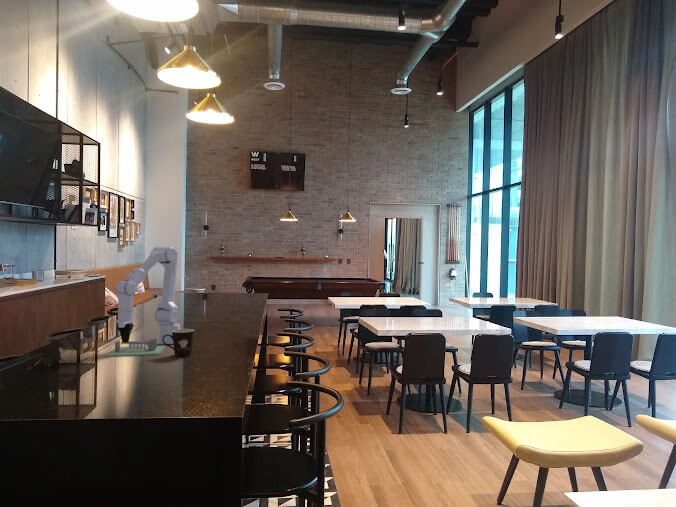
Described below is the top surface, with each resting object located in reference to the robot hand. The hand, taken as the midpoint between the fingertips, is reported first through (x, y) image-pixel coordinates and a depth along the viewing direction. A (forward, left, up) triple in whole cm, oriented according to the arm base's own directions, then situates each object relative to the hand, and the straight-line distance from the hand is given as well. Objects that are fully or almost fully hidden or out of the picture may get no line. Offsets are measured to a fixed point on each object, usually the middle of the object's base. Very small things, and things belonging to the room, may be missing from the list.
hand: (125, 342), depth 198 cm
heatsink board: (-5, 0, -4) cm, 6 cm away
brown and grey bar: (-5, 0, -1) cm, 5 cm away
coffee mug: (-23, +9, -4) cm, 25 cm away
